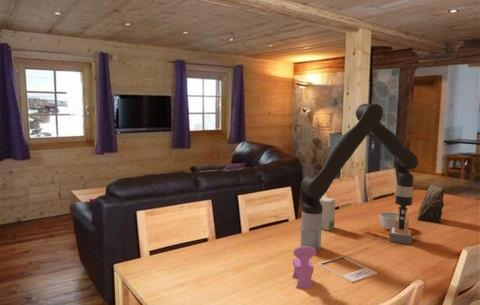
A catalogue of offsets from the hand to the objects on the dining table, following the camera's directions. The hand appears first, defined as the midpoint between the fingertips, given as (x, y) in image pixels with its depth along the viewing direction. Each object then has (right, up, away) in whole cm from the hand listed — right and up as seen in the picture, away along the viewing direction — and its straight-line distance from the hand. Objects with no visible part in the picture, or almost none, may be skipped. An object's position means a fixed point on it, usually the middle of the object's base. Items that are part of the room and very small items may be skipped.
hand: (401, 226), depth 180 cm
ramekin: (+3, -5, +18) cm, 19 cm away
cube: (0, -2, 0) cm, 2 cm away
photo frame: (-36, -11, -32) cm, 50 cm away
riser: (0, -7, +1) cm, 7 cm away
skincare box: (-33, -4, +17) cm, 38 cm away
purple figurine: (-56, -12, -44) cm, 72 cm away
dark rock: (+30, -3, +34) cm, 45 cm away
